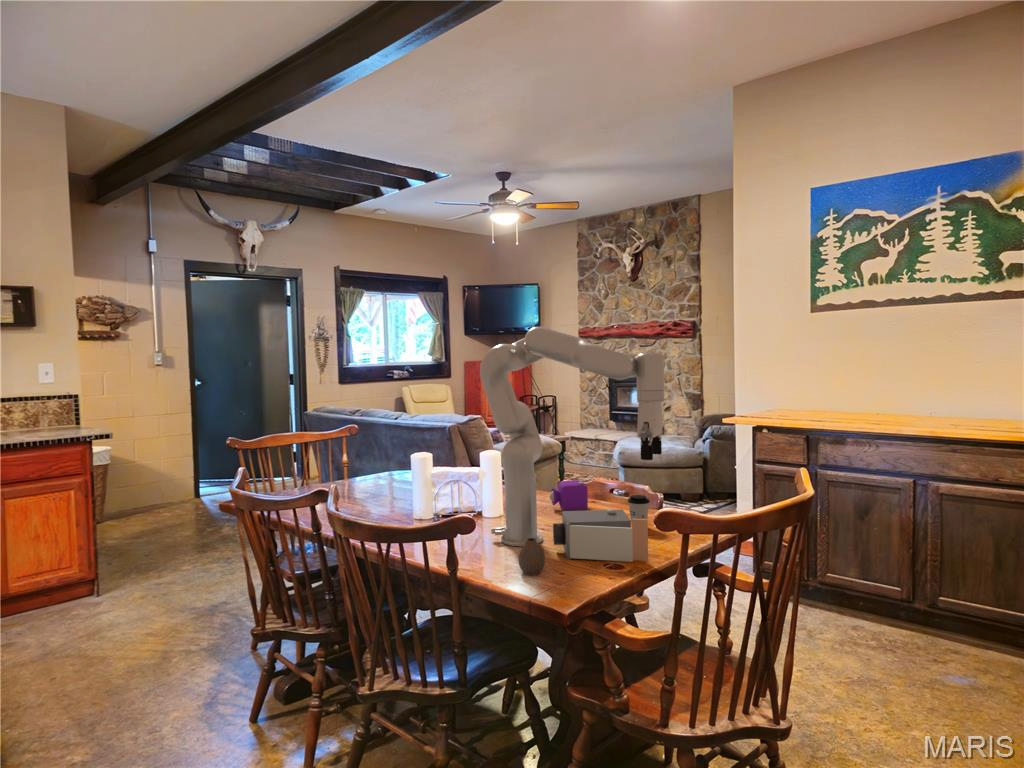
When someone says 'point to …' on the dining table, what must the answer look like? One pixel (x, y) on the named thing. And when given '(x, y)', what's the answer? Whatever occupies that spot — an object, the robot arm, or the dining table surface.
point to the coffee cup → (638, 507)
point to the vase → (531, 557)
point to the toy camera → (570, 495)
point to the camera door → (608, 542)
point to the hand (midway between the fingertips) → (651, 456)
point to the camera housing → (589, 521)
